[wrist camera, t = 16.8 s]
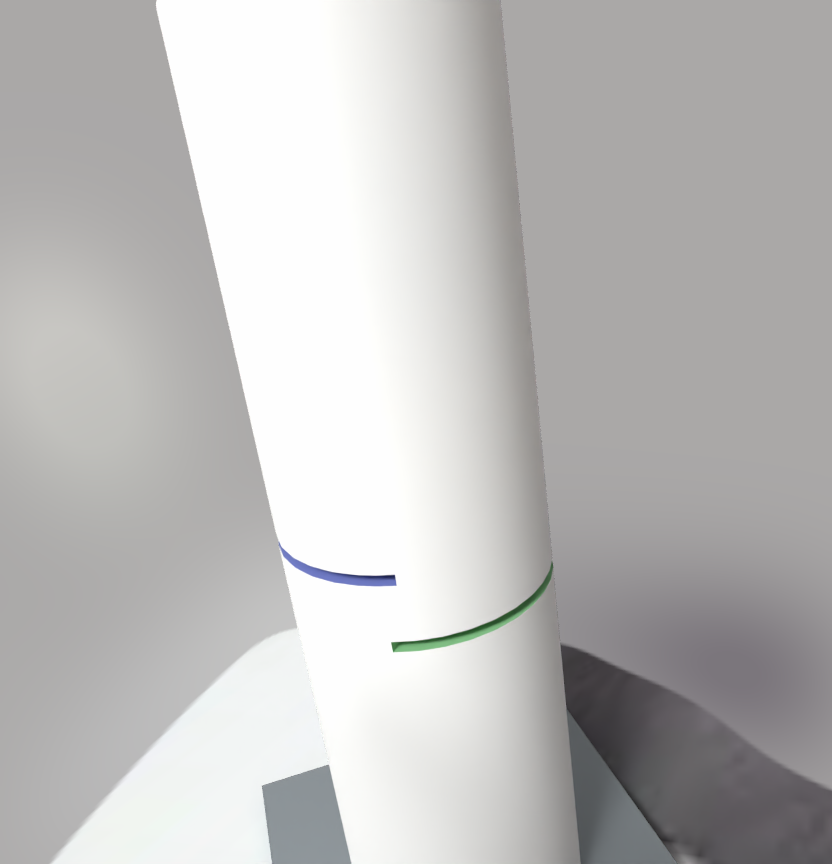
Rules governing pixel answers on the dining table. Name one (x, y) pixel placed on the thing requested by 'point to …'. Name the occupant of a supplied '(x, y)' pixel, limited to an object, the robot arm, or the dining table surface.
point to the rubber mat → (594, 800)
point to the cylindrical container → (392, 402)
